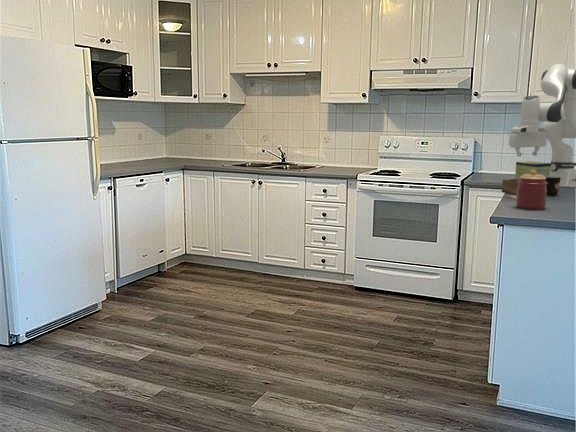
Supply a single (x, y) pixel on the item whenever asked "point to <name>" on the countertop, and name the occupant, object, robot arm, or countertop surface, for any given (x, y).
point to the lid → (513, 196)
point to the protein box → (532, 168)
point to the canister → (531, 191)
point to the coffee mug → (552, 185)
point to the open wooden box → (510, 186)
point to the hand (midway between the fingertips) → (526, 156)
